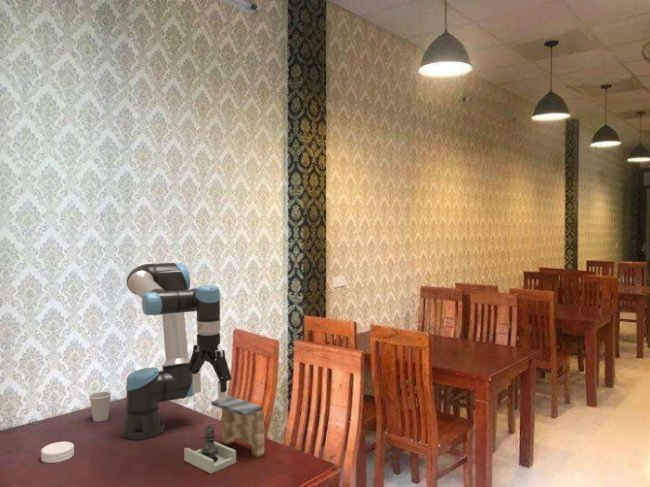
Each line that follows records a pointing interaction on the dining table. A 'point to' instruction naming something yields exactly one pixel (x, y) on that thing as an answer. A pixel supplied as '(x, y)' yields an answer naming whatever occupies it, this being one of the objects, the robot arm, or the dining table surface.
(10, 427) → the dining table surface
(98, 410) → the dixie cup
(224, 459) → the pale green tray
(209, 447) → the dark grey tall piece
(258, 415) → the checkered stool block
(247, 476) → the dining table surface
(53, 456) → the coaster
